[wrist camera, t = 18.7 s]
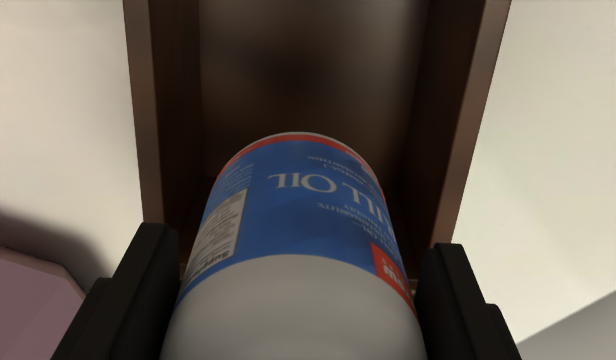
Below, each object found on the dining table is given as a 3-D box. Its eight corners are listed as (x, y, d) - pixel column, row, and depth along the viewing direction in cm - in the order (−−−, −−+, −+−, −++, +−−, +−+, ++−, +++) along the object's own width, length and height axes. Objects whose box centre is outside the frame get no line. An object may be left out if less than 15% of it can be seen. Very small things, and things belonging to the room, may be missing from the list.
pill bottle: (417, 184, 16) (556, 509, 8) (318, 296, 18) (338, 652, 10) (267, 89, 15) (229, 362, 6) (177, 224, 17) (53, 570, 8)
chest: (179, -107, 24) (111, -106, 16) (461, -84, 24) (530, -71, 16) (191, 180, 31) (148, 278, 23) (407, 195, 31) (437, 297, 23)
